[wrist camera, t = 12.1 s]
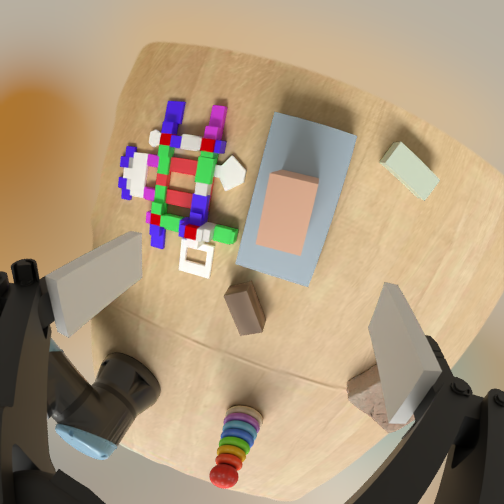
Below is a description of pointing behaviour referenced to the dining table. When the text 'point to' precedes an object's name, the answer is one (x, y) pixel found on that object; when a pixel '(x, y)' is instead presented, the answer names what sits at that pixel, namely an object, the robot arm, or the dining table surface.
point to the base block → (329, 188)
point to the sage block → (409, 170)
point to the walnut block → (245, 308)
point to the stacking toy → (235, 444)
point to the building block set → (198, 202)
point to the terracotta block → (287, 211)
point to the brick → (371, 398)
